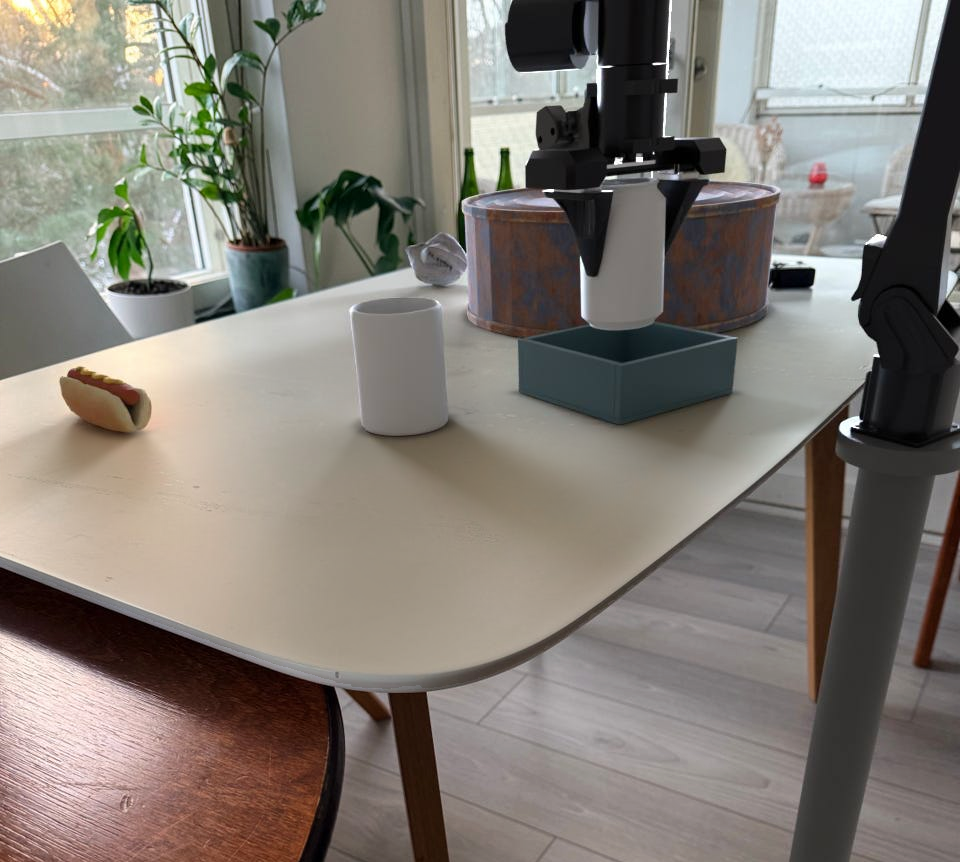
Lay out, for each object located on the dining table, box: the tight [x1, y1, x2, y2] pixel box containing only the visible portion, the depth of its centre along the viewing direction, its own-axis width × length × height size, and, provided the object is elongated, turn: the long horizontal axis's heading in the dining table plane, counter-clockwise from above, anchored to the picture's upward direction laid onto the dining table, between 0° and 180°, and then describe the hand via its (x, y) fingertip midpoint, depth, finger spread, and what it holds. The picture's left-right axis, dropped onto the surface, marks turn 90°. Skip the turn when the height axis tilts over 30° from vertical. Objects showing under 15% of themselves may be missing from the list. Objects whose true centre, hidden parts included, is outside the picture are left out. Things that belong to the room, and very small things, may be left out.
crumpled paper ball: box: [405, 231, 467, 286], centre depth 154 cm, size 11×9×8 cm
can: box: [580, 176, 666, 330], centre depth 81 cm, size 8×8×12 cm
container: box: [461, 180, 782, 338], centre depth 128 cm, size 43×43×15 cm
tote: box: [517, 321, 739, 426], centre depth 93 cm, size 16×16×6 cm
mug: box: [349, 296, 449, 437], centre depth 87 cm, size 12×8×11 cm
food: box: [59, 365, 153, 434], centre depth 92 cm, size 14×6×5 cm, turn 45°
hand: (624, 270), depth 82 cm, fingers closed on can, 8 cm apart
